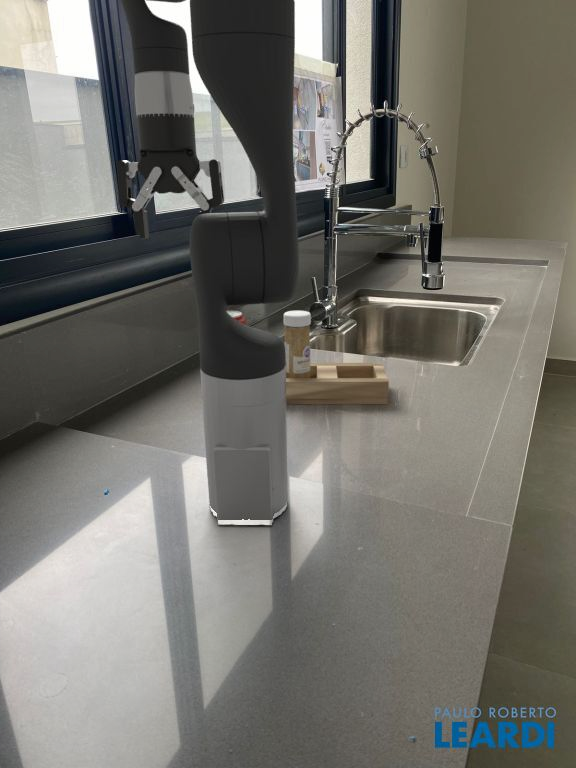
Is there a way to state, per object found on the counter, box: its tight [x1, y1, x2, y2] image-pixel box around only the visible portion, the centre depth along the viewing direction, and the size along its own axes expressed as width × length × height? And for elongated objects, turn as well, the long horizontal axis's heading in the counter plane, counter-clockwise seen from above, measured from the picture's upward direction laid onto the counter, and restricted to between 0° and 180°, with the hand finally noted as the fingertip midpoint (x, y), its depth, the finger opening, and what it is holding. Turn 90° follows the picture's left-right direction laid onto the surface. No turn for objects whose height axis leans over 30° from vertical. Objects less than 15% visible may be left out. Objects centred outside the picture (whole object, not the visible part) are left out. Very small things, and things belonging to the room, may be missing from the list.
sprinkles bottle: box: [283, 310, 312, 378], centre depth 103 cm, size 5×5×13 cm
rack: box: [286, 362, 390, 405], centre depth 105 cm, size 10×20×4 cm, turn 88°
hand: (174, 238), depth 86 cm, fingers open, 8 cm apart
